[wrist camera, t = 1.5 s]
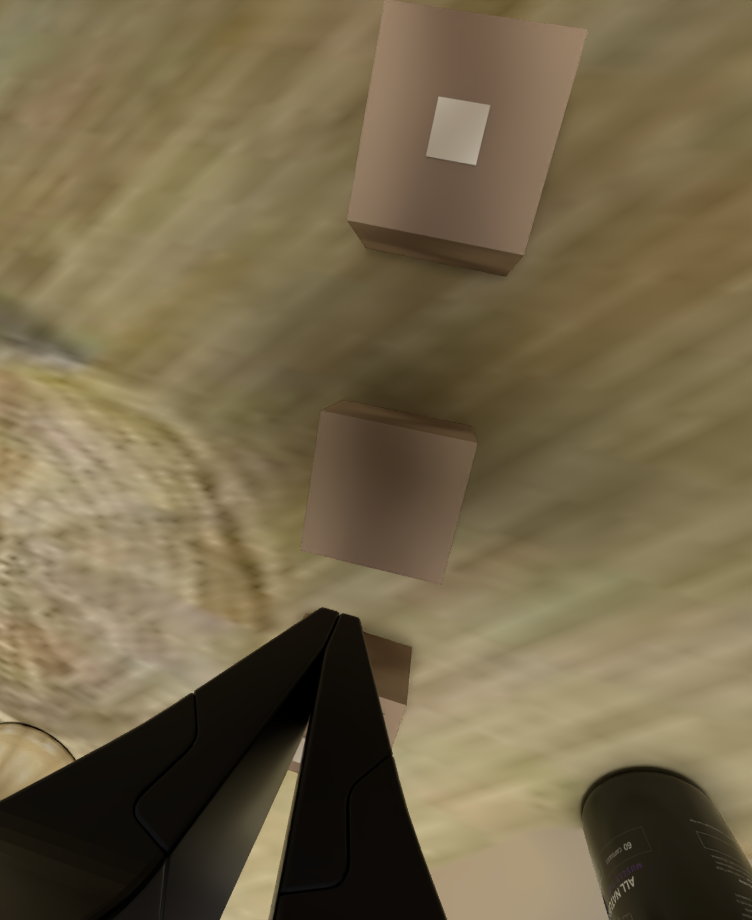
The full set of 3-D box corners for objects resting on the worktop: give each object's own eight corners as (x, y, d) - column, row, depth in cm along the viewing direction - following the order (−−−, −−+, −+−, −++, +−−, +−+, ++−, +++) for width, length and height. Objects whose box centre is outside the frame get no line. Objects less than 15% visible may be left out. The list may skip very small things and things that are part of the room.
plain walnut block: (470, 425, 19) (477, 443, 15) (441, 541, 21) (441, 584, 17) (344, 399, 20) (320, 410, 16) (325, 515, 21) (300, 550, 17)
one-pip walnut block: (552, 109, 16) (589, 26, 12) (505, 276, 17) (524, 254, 13) (397, 83, 16) (384, -4, 12) (366, 248, 18) (345, 219, 14)
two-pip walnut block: (412, 645, 22) (406, 707, 18) (384, 728, 24) (373, 801, 20) (306, 611, 23) (279, 665, 19) (287, 695, 24) (257, 761, 21)
